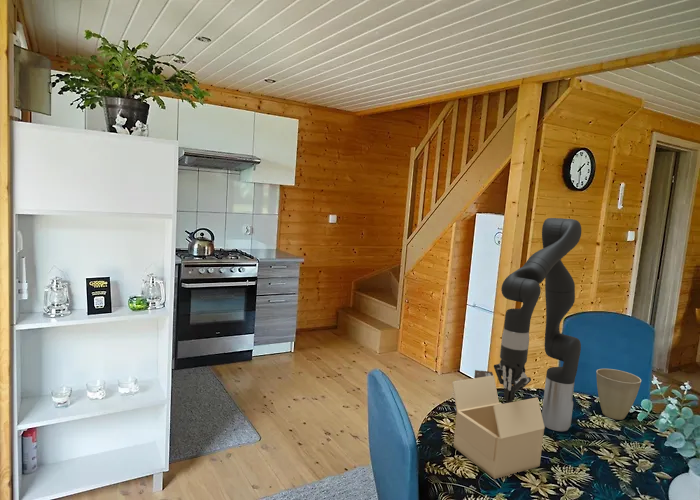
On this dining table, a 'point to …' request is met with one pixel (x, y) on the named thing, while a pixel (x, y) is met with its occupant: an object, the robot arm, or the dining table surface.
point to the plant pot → (616, 392)
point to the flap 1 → (475, 392)
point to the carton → (495, 443)
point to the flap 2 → (518, 417)
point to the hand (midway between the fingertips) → (508, 401)
